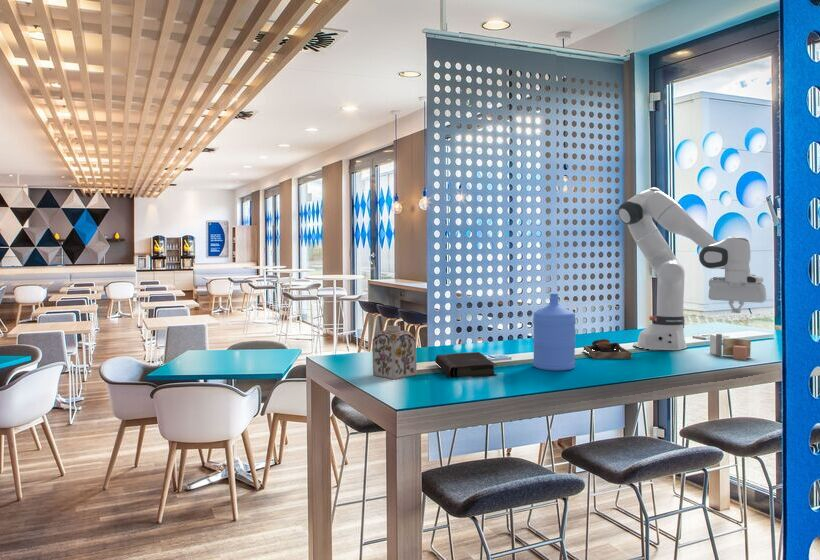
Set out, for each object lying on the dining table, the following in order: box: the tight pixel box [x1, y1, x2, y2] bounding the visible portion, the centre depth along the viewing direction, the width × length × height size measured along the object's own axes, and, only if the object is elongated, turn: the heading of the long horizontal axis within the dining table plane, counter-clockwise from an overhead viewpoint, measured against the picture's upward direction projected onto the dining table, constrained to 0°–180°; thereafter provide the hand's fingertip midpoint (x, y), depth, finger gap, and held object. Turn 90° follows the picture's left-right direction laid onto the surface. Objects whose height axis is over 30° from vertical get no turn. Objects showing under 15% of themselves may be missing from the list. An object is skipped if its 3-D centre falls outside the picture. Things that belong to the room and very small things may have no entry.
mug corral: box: [583, 345, 633, 360], centre depth 266 cm, size 15×17×2 cm
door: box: [722, 337, 752, 358], centre depth 259 cm, size 10×2×7 cm, turn 64°
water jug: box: [532, 293, 576, 372], centre depth 241 cm, size 16×16×28 cm
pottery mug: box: [591, 338, 622, 352], centre depth 263 cm, size 12×10×8 cm
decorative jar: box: [372, 325, 418, 381], centre depth 229 cm, size 12×12×18 cm
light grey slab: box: [709, 333, 723, 357], centre depth 264 cm, size 2×8×9 cm, turn 178°
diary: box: [435, 351, 498, 379], centre depth 237 cm, size 19×25×5 cm
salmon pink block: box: [732, 345, 749, 361], centre depth 255 cm, size 4×4×5 cm
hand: (736, 312), depth 249 cm, fingers closed
